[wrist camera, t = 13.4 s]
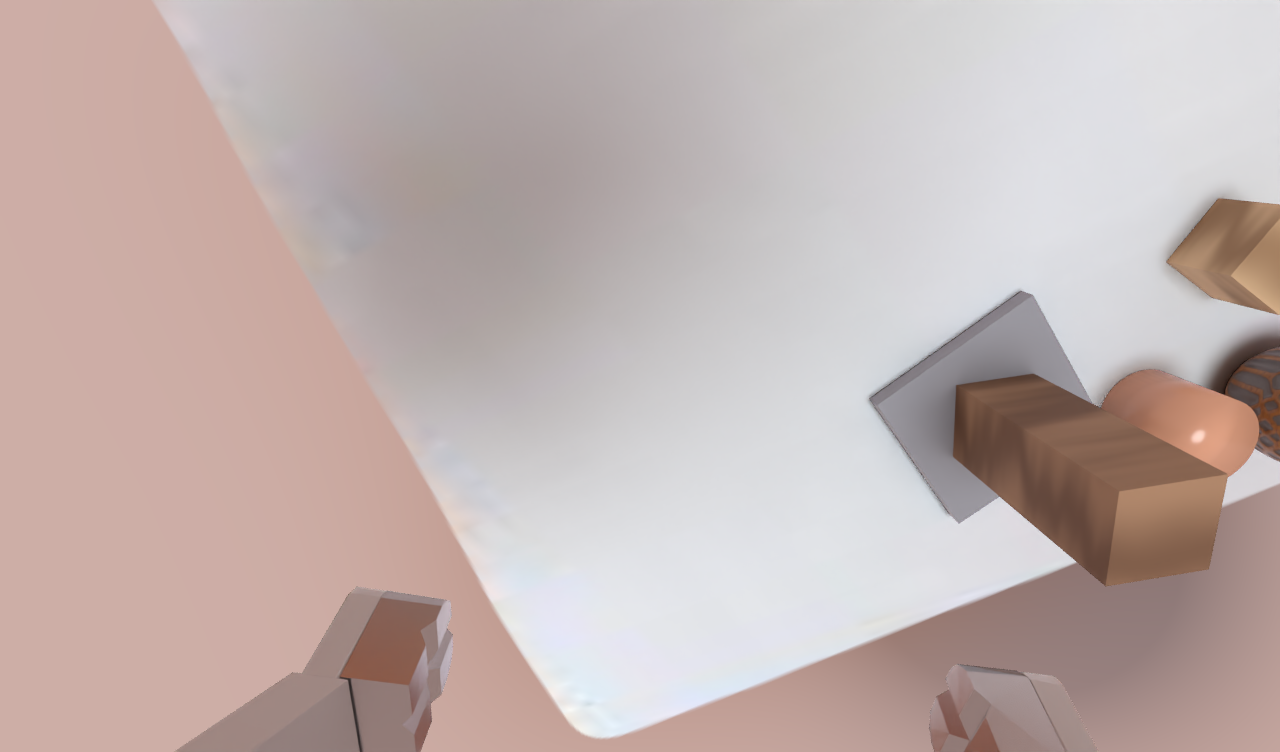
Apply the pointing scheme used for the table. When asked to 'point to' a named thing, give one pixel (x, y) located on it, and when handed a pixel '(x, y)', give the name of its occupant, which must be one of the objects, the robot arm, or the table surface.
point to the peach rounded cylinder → (1187, 417)
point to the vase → (1261, 396)
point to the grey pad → (980, 353)
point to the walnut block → (1089, 479)
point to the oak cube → (1235, 254)
